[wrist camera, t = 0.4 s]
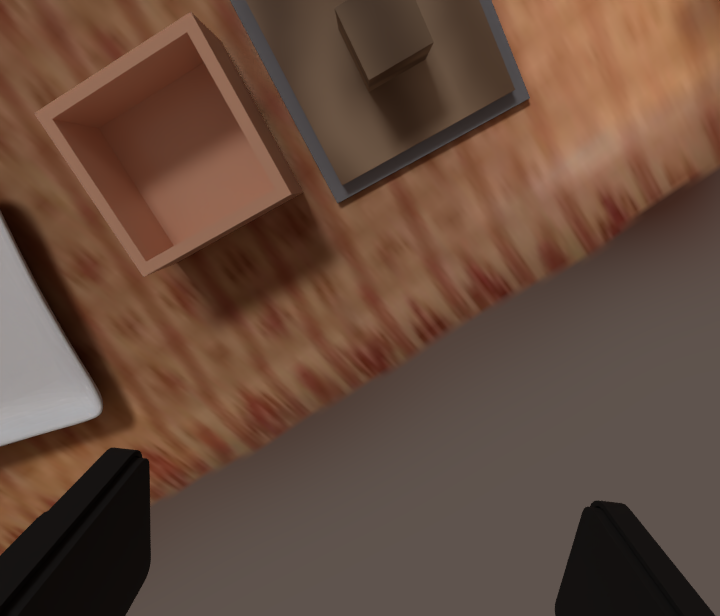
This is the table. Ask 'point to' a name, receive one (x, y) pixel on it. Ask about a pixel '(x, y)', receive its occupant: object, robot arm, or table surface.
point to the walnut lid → (383, 71)
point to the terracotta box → (170, 146)
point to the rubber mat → (412, 153)
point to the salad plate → (36, 358)
